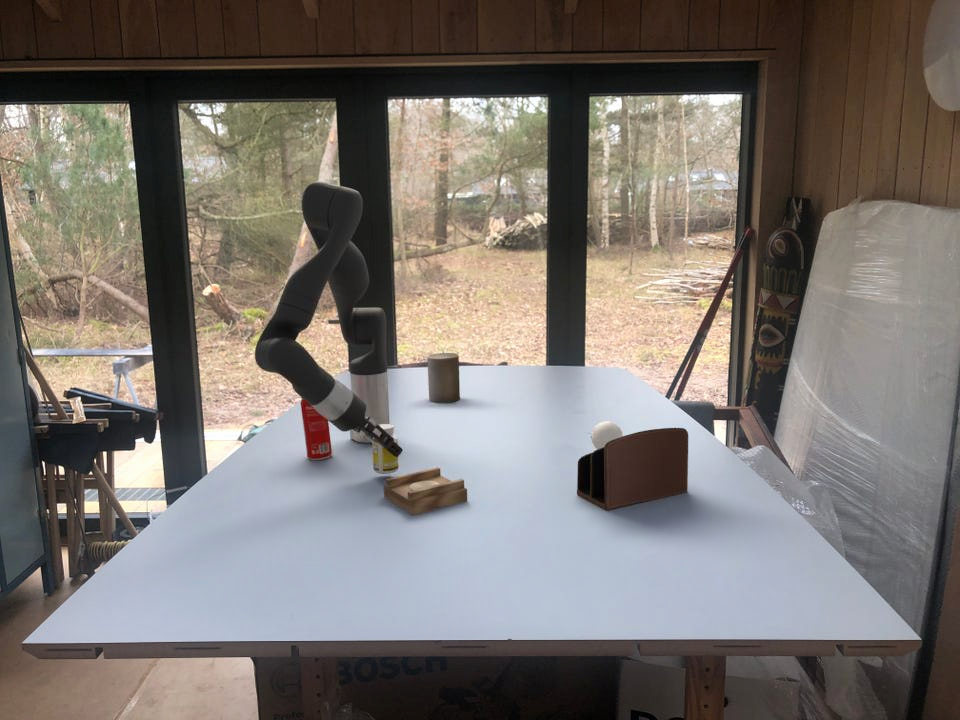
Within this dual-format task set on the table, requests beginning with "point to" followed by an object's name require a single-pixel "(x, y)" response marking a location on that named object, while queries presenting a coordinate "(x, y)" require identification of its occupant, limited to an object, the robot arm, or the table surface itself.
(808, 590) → the table surface
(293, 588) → the table surface
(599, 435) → the white egg shape
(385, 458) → the supplement bottle
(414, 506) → the display plinth
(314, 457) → the beverage can
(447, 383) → the pillar candle
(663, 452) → the letter holder
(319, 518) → the table surface
